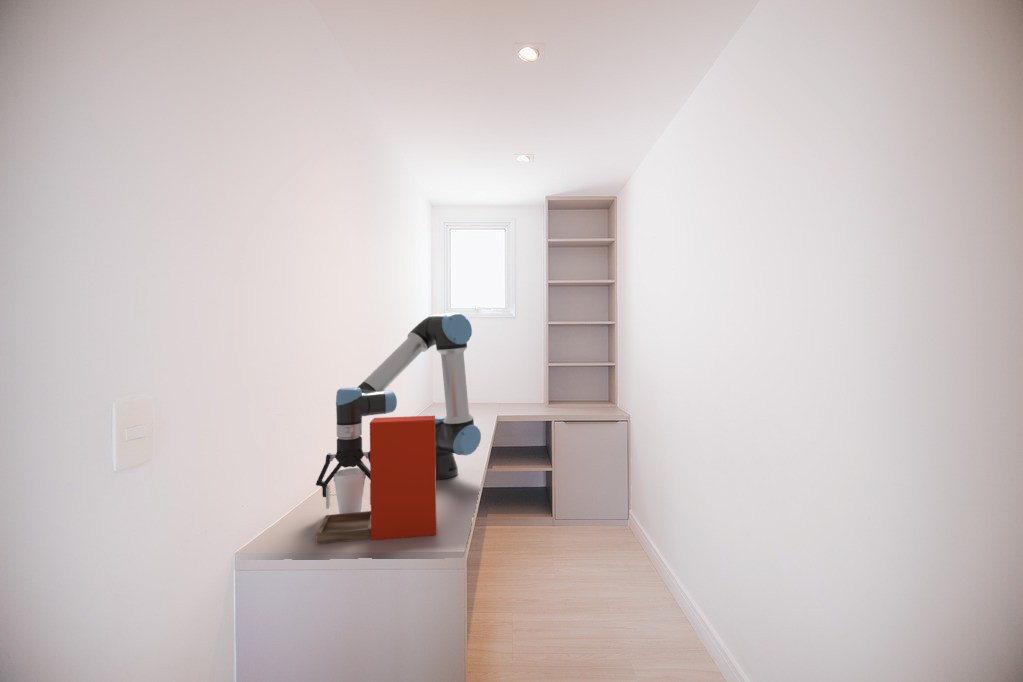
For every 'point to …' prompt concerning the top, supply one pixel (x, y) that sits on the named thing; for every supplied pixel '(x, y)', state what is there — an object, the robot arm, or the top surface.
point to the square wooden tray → (345, 527)
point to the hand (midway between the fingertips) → (350, 505)
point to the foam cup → (349, 489)
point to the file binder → (403, 477)
